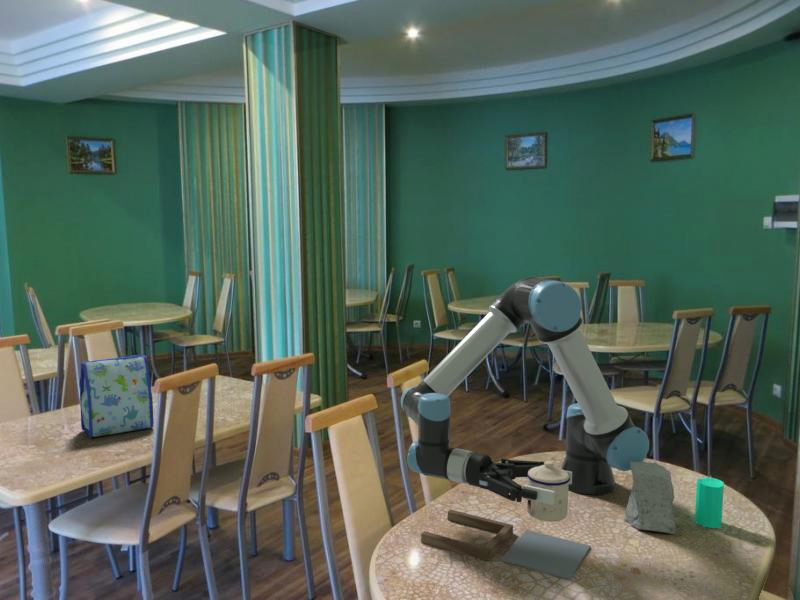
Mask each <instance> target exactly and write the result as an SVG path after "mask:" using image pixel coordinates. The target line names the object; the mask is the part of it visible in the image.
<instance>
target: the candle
mask: <svg viewBox="0 0 800 600" xmlns="http://www.w3.org/2000/svg"><path fill="white" fill-rule="evenodd" d="M724 486H725V482H724V481H722V480H721V479H718V478H714V477H712V475H710V476H709V477H708V476H707V477H704V478H697V480H696V493H695V494H696V495H695V511H694V522H695V521H696V522H697V523H698V524H700V525H702V526H704V527H703V528H705V527H709V528H708V529H710V528H717V529H719V528H718V527H720V526H721V527H722V525H721V524H722V523H723V510H724V509H723V505H724V504H723V503H724V488H725V487H724ZM696 522H695V523H696ZM697 523H696V524H697ZM698 524H697V525H698ZM700 525H699V526H700ZM702 526H701V527H702ZM721 527H720V528H721Z"/></svg>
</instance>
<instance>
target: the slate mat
mask: <svg viewBox="0 0 800 600" xmlns="http://www.w3.org/2000/svg"><path fill="white" fill-rule="evenodd" d="M510 547H511V548H509V550H508V551H507V552H506V553H505V554H504V555H503V557H502V558H500V561H501V562H504V563H506V564H510V565H514V566H517V567H522V568H525V569H529V570H532V571H537V572H539V573H543V574H546V575H550V576H554V577H557V578H561V579H563V580H564V579H565V580H569V581H571V579H572V578H573V575H574V574H575V573H576V571H577V570H578V568H579V566H580V565H581V563H582V562H583V560H584V558H585V557H586V555H587V554H588V553H589V550H591V545H589V544H585V543H581V542H579V541H573V540H570V539H565V538H563V537H562V538H561V537H557V536H553V535H549V534H546V533H541V532H537V531H534V530H529V529H526V530H525V531H524V532H523V534H521V536H520V537H519V538H518V539H517V540H516V542H515V543H514V544H513V545H512V546H510Z"/></svg>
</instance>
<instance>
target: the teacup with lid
mask: <svg viewBox="0 0 800 600" xmlns="http://www.w3.org/2000/svg"><path fill="white" fill-rule="evenodd" d="M527 476H528V477H527V478H528V479H527V481H528V482H527V485H529V486H533V487H538V488H543V489H547V490H552V491H555V494H554V504H553V505H551V504H546V503H542V502H538V501H533V500H529V499H527V504H526V505H527V507H526V509H527V513H528V515H529V516H531V517H532V518H534V519H536V520H538V521H543V522H559V521H562V520H564V519H566V518H567V517H568V513H569V512H568V511H569V508H568V507H569V490H568V487H569V481H570V477H569V474H568V473H567V472H566V471H564V470H562V469H561V468H560V467H558V466H555V464H554V462H553V461H550V460H547V461H544V465H541V466H538V467H534V468H531V469H530V470H529V471H528V474H527Z"/></svg>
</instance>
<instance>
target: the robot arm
mask: <svg viewBox="0 0 800 600" xmlns="http://www.w3.org/2000/svg"><path fill="white" fill-rule="evenodd" d="M582 306H583V305H582V301H581V298H580V296H579V294H578V292H577V291H576V290H575V289H574V287H572V286H571V285H569V284H567V283H564V282H563V281H561V280H560V281H559V280H557V279H545V278H539V277H535V276H534V277H533V276H531V277H525V278H522V279H521V278H520V279H519V280H518V281H517V280H516V281H515V282H514V283H513V284H511V285H510V286H509V287H508V288H506V289H505V290H504V291H503V292H502V293H501V294H500V295H499V296H497V298H496V299H495V300H494V301H493V302H492V303H491V304H490V305H489V306H488V313H486V315H485V316H484V317H483V318H482V319H481V320H480V321H479V322H477V324H476V325H475V326H474V327H473V328H472V329H471V330H470V332H468V334H466V335H465V337H463V339H462V340H461V341H460V342H458V344H456V345H455V347H454V348H453V349H452V350H451V351H450V352H449V353H448V354H447V355H446V356H445V357H444V358H443V359H442V360H441V361H440V362H439V363H438V364H437V365H436V366H435V367H434V368H433V369H432V370H431V372H430V373H429V374H428V375H427V376H426V377H425V378H424V379H423V380H422V381H421V382H420V383H419V384H417V385H416V386H412V387H408V388H406V390H404V391H403V393H402V394H401V396H400V397H401V398H400V406H401V408H402V410H403V411H404V413H405V415H406V416H407V417H408V418H410V419H411V420H412V421H413V422H414V423H415V425H417V427H418V428H417V429H418V432H417V433H418V434H417V435H418V437H417V438H418V440H415V441H413V442H412V443H411V445H410V446H409V448H408V453H407V456H406V457H407V461H406V462H407V466H408V467H409V469H410V471H413V472H414V473H417V474H421V475H423V476H425V477H434V478H439V479H442V480H447V481H451V482H456V483H457V485H458V484H459V485H460V484H466V485H468V486H473V487H478V488H480V489H483V490H487V491H490V492H492V493H495V494H496V495H498V496H500V497H503V499H507V500H509V501H511V502H515V501H516V503H521V502H522V501H523V500H522V499H525V500H528V499H529V500H533V501H538V502H542V503H546V504H551V505H553V504H554V494H555V491H552V490H547V489H543V488H538V487H533V486H529V485H528V484H523V485H520V484H519V483H518V482H516V481H515V479H516V478H528V476H527V474H528V471H529V470H530V469H531V468H534V467H538V466H541V465H544V463H545V461H535V460H533V461H532V460H519V459H518V460H517V459H516V460H515V459H507V458H501V459H500V462H493V461H492V458H491V456H490V455H489V454H488V453H487V454H486V453H481V452H477V451H472V450H469V449H468V450H467V449H462V448H457V447H456V448H455V447H451V446H450V443H451V440H450V436H451V435H450V433H451V414H452V408H451V401H450V397H449V396H450V395H451V394H452V393H453V392H454V391H455V390H456V389H457V387H458V386H460V384H461V383H462V382H464V380H465V379H466V378H468V376H469V375H470V374H471V373H472V372H473V371H474V370H475V369H476V368H477V367H478V366H479V365H480V364H481V363H482V362H483V361H484V360H485V359H486V357H488V355H489V354H491V352H493V350H494V349H496V347H497V346H499V345H500V343H502V341H503V340H504V339H505V338H506V337H507V336H508V335H510V334H511V333H517V331H519V329H520V328H522V327H523V326H525V325H526V324H530V326H531V328H532V331H533V333H534V334H535V336H536V337H537V340H538V341H539V342H540V343H542V344H545V345H547V346H548V348H549V349H550V351H551V353H552V356H553V357H554V359H555V361H556V363H557V365H558V367H559V369H560V371H561V372H562V374H563V376H564V378H565V381H566V382H567V384H568V386H569V388H570V391H571V392H572V395H573V396H574V398H575V400H576V402H577V403H572V404H570V405H569V406H568V407H567V411H566V432H565V434H566V437H565V457H564V459H563V461H562V465H561V468H560V469H562V470H564V471H566V472H567V473H568V474H569V477H570V481H569V487H568V491H571V492H575V493H578V494H583V495H604V494H608V493H611V492H612V491H613V490H614V489H615V486H616V485H615V483H616V480H615V478H616V477H615V475H614V473H613V468H614V469H616V470H618V471H622V472H627V471H631V468H630V462H631V461H632V462H645V459H646V458H647V454H648V452H649V449H650V440H649V438H648V437H649V436H648V435H647V433H646V432H645V431H644V430H643V429H641V427H638V426H636V425H635V424H634V422H633V420H632V418H631V416H630V414H629V411H628V410H627V409H626V407H624V406H621V405H618V404H617V402H616V400H615V398H614V396H613V394H612V392H611V390H610V388H609V386H608V383H607V381H606V380H605V377H604V376H603V374H602V372H601V369H600V367H599V366H598V364H597V361H596V359H595V358H594V355H593V354H592V353H593V352H592V351H591V349H590V347H589V346H588V343H587V341H586V340H585V337H584V335H583V333H582V331H581V327H582V326H583V318H582V317H581V316H582V315H581V311H582V310H583V309H582V308H583V307H582Z"/></svg>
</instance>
